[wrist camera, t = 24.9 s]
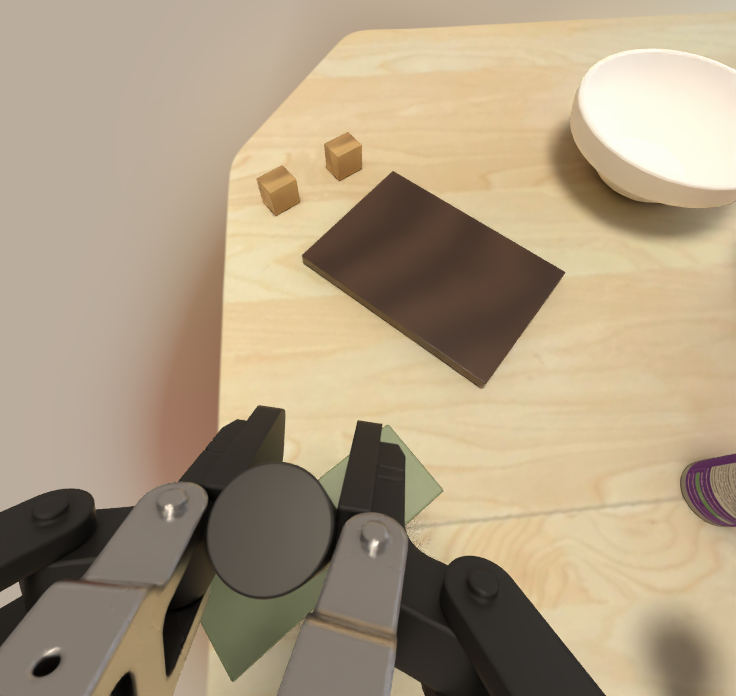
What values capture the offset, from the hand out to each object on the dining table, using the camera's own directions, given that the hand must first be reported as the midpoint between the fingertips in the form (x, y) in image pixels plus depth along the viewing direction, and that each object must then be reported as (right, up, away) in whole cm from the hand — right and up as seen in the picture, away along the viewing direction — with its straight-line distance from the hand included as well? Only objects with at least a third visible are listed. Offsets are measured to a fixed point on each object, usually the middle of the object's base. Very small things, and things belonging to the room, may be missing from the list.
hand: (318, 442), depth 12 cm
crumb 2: (0, +22, +30) cm, 37 cm away
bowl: (+31, +22, +33) cm, 50 cm away
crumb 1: (-7, +18, +28) cm, 34 cm away
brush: (0, -6, +7) cm, 9 cm away
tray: (+7, +10, +27) cm, 29 cm away
